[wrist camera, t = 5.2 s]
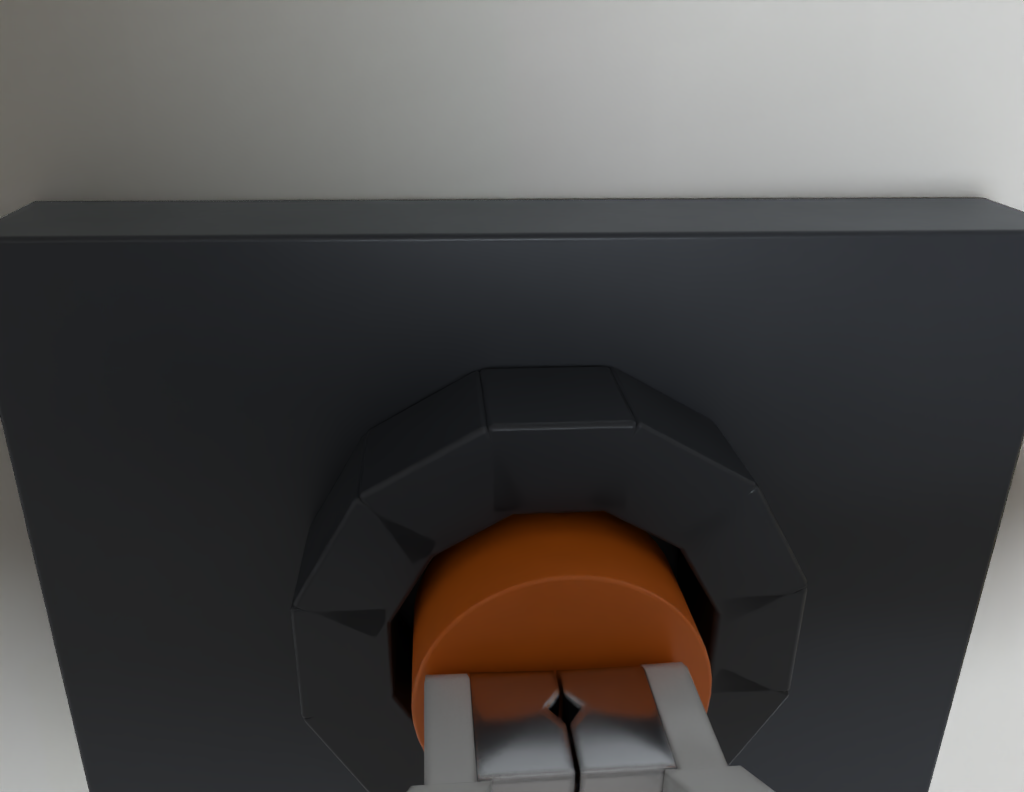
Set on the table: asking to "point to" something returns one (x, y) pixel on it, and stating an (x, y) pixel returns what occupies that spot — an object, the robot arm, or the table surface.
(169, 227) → the dark grey button base
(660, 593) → the round orange button
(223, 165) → the table surface
